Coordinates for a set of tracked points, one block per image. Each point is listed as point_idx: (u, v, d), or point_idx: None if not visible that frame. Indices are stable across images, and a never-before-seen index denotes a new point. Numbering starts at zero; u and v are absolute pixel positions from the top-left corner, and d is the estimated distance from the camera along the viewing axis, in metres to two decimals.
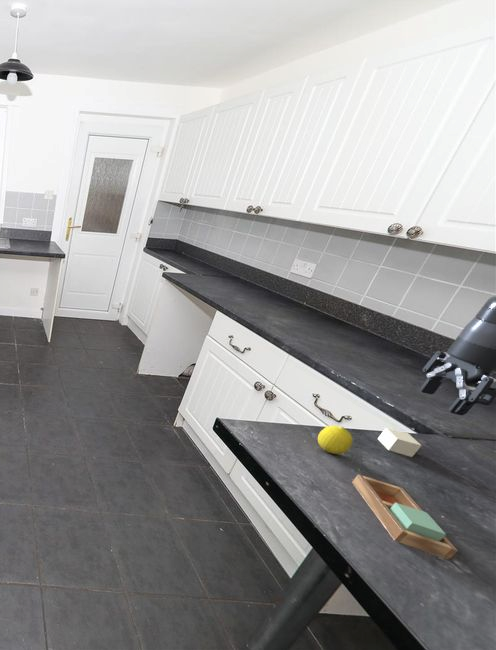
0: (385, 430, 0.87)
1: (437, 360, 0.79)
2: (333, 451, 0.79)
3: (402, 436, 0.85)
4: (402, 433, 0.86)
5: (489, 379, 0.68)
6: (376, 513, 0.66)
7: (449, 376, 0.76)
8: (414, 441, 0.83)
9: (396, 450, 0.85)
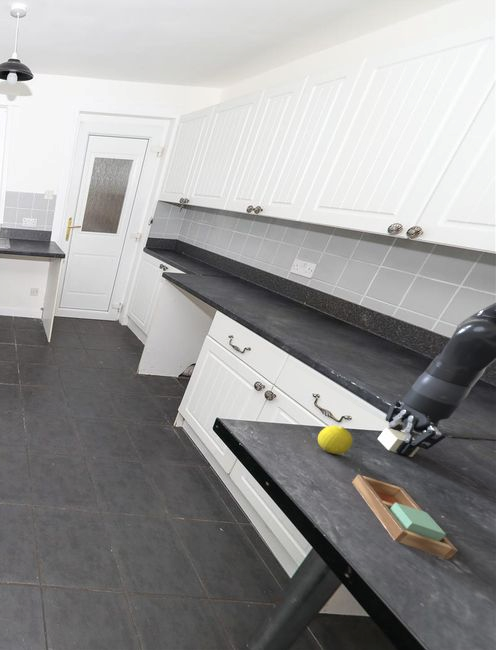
0: (385, 430, 0.87)
1: (395, 409, 0.88)
2: (333, 451, 0.79)
3: (402, 436, 0.85)
4: (402, 433, 0.86)
5: (432, 433, 0.77)
6: (376, 513, 0.66)
7: (404, 421, 0.84)
8: None
9: None
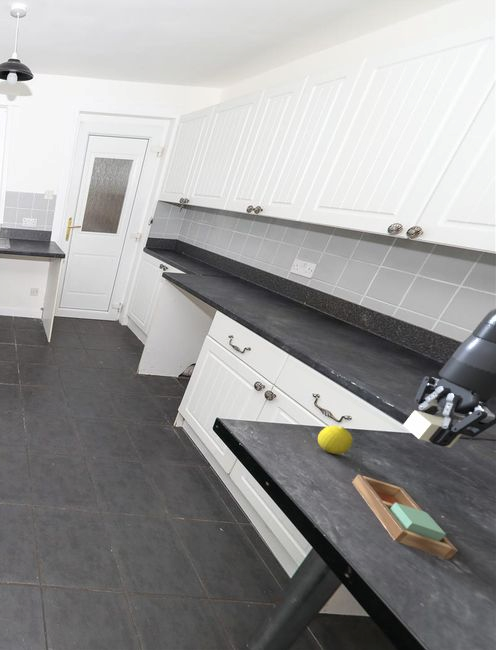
0: (414, 414, 0.68)
1: (428, 387, 0.68)
2: (333, 451, 0.79)
3: (437, 421, 0.65)
4: (436, 417, 0.66)
5: (482, 414, 0.58)
6: (376, 513, 0.66)
7: (441, 402, 0.65)
8: None
9: None
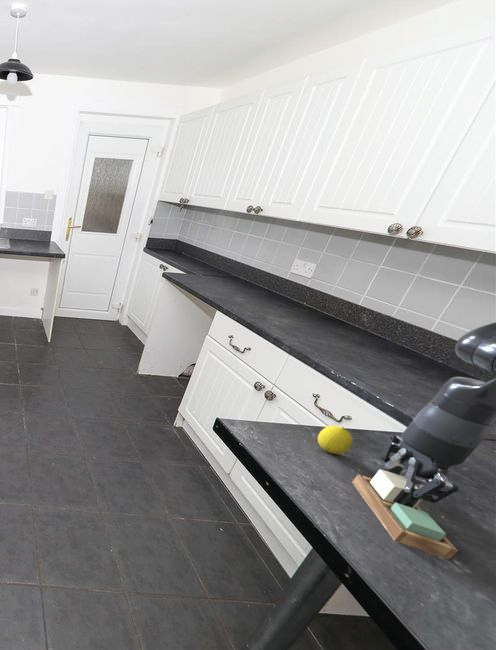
0: (379, 473, 0.69)
1: (392, 446, 0.69)
2: (333, 451, 0.79)
3: (400, 482, 0.66)
4: (400, 477, 0.68)
5: (440, 483, 0.59)
6: (376, 513, 0.66)
7: (404, 464, 0.66)
8: None
9: None
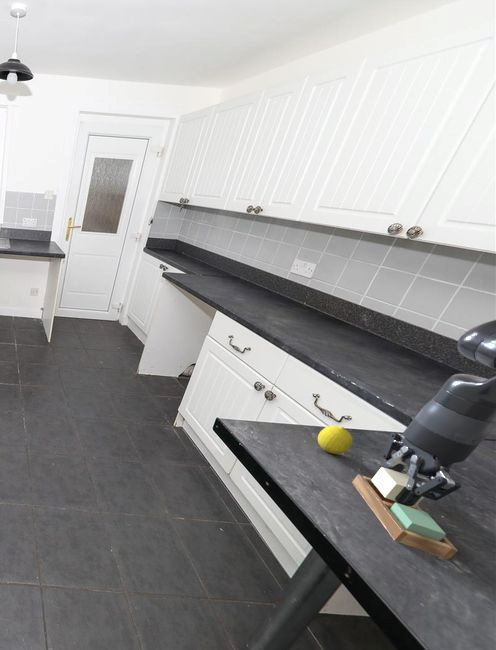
0: (381, 470, 0.69)
1: (394, 443, 0.69)
2: (333, 451, 0.79)
3: (402, 480, 0.66)
4: (402, 475, 0.67)
5: (442, 481, 0.59)
6: (376, 513, 0.66)
7: (406, 461, 0.66)
8: None
9: None
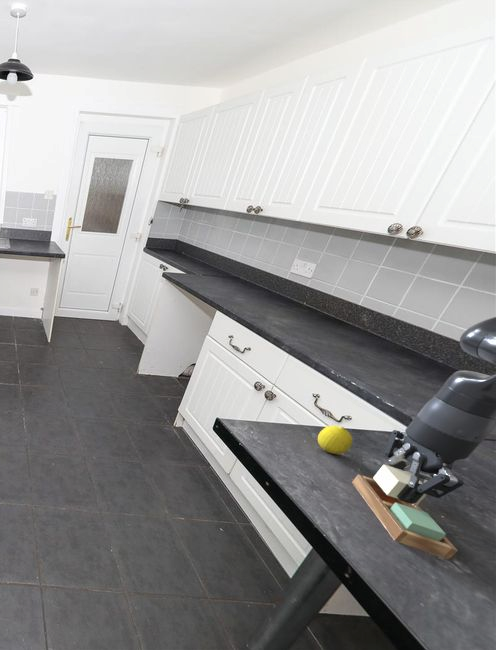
0: (383, 468, 0.69)
1: (396, 441, 0.69)
2: (333, 451, 0.79)
3: (404, 477, 0.66)
4: (404, 473, 0.67)
5: (445, 478, 0.58)
6: (376, 513, 0.66)
7: (408, 459, 0.65)
8: None
9: None
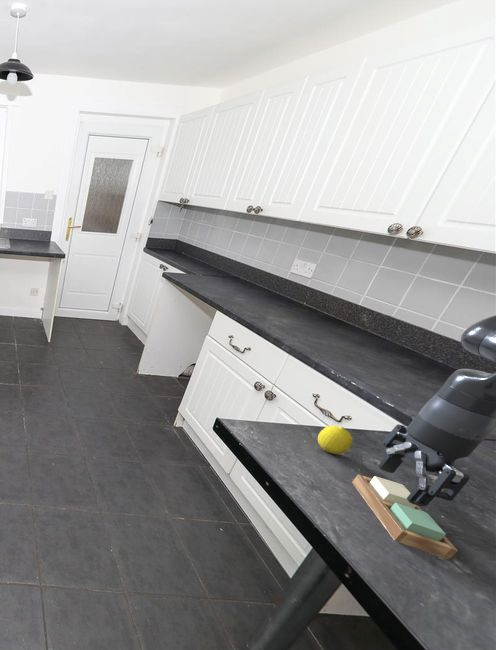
0: (374, 479, 0.70)
1: (397, 435, 0.69)
2: (333, 451, 0.79)
3: (395, 489, 0.67)
4: (395, 484, 0.68)
5: (451, 472, 0.58)
6: (376, 513, 0.66)
7: (409, 457, 0.65)
8: None
9: None
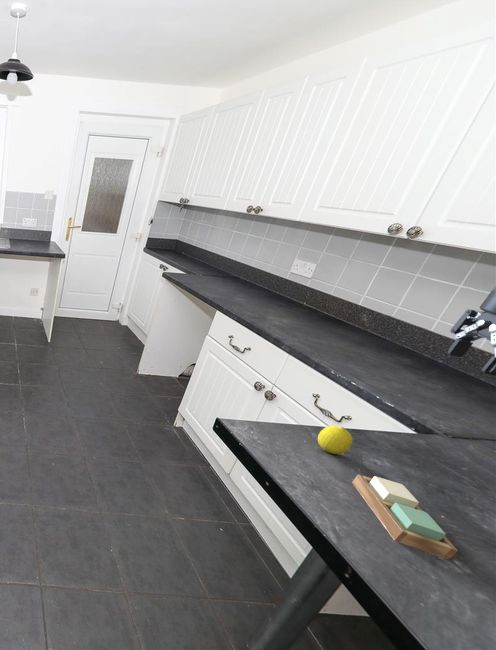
0: (374, 479, 0.70)
1: (467, 319, 0.73)
2: (333, 451, 0.79)
3: (395, 489, 0.67)
4: (395, 484, 0.68)
5: None
6: (376, 513, 0.66)
7: (482, 334, 0.70)
8: (410, 496, 0.66)
9: None
